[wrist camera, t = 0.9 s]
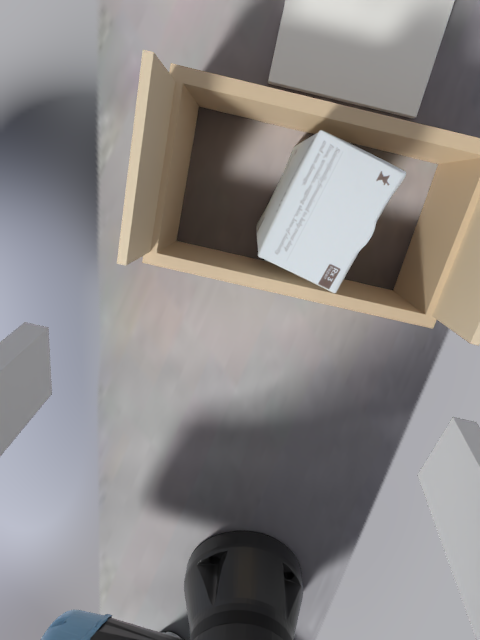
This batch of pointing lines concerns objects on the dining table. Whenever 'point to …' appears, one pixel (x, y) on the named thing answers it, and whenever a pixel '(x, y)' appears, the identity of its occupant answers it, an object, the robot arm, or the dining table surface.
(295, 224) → the skincare box
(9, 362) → the robot arm
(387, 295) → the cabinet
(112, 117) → the dining table surface
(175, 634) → the photo printer
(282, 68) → the pad
